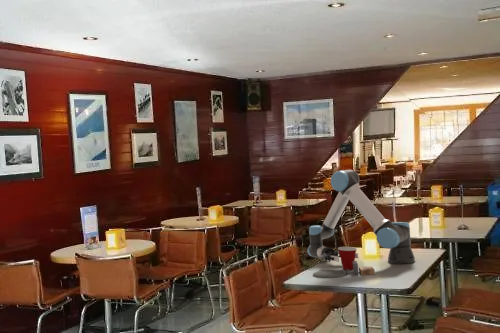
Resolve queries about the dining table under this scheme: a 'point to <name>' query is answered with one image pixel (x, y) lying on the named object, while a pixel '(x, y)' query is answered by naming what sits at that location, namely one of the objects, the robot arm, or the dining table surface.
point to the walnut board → (367, 270)
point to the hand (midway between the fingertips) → (348, 257)
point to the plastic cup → (347, 256)
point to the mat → (329, 274)
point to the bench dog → (355, 267)
